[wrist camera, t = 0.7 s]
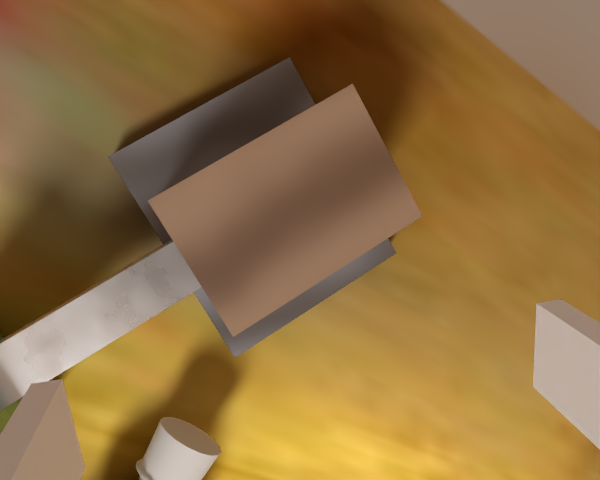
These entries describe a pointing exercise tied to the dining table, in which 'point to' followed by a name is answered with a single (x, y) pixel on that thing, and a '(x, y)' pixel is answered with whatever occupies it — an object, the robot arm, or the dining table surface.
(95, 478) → the dining table surface
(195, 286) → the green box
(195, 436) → the bottle
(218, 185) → the bearing block
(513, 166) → the dining table surface
